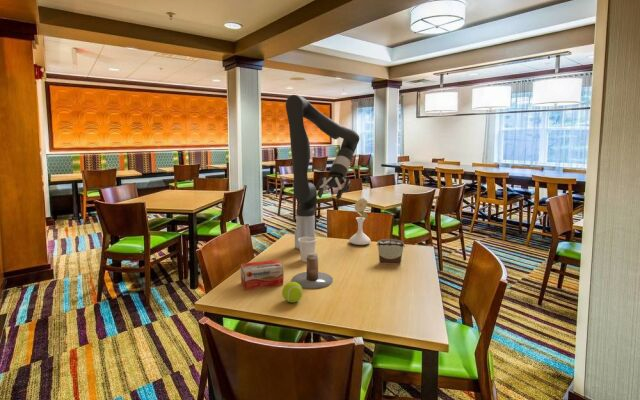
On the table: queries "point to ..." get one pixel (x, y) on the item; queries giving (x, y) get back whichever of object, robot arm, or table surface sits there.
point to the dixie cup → (306, 246)
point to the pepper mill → (312, 266)
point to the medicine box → (262, 274)
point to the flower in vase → (360, 224)
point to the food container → (390, 251)
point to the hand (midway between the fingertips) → (328, 197)
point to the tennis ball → (292, 292)
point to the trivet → (322, 281)
